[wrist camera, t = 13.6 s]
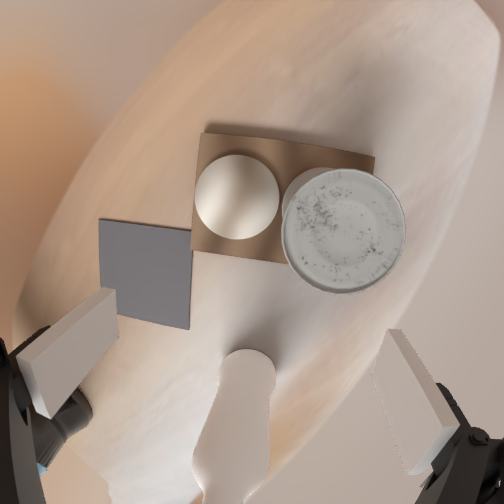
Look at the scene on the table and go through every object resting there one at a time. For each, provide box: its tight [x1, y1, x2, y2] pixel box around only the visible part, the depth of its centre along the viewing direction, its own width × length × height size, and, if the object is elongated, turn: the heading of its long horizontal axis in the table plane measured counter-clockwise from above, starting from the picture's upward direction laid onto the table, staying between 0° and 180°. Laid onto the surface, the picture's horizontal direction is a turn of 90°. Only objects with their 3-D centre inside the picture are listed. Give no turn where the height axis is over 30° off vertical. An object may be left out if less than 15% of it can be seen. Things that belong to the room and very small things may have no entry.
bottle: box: [192, 349, 276, 504], centre depth 28 cm, size 8×8×30 cm
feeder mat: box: [99, 219, 193, 330], centre depth 40 cm, size 14×14×1 cm
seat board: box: [190, 133, 375, 264], centre depth 34 cm, size 20×14×2 cm
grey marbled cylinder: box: [281, 167, 406, 295], centre depth 27 cm, size 10×10×12 cm
